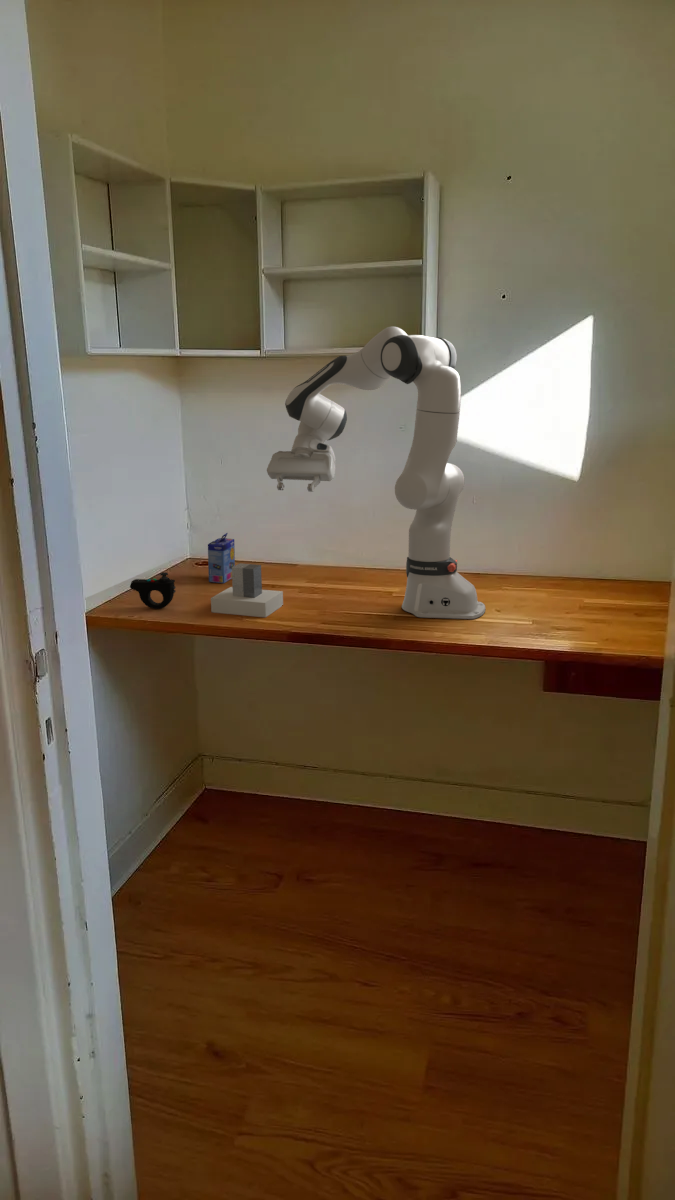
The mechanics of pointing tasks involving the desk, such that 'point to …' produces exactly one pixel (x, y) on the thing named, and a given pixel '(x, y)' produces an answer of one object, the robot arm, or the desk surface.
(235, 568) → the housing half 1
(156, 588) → the controller
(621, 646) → the desk surface
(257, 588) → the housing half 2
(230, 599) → the stand
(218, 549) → the ink cartridge box
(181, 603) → the desk surface
